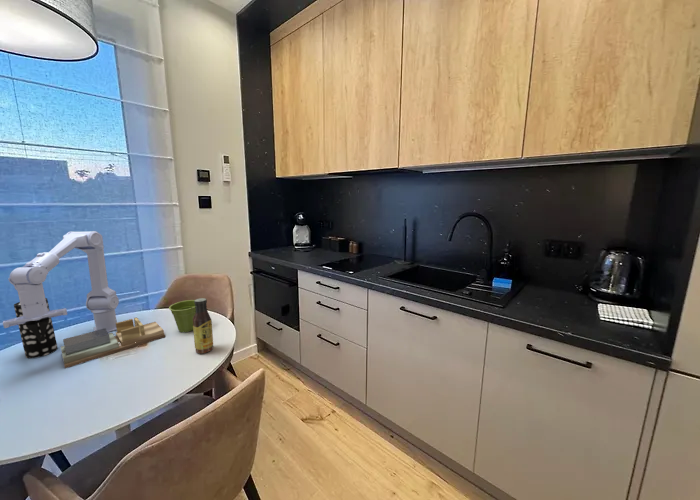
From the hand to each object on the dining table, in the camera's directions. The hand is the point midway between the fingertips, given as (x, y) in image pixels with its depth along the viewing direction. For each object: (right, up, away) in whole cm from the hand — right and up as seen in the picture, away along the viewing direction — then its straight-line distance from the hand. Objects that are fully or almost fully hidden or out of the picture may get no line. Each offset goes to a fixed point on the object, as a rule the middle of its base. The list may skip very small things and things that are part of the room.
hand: (41, 340), depth 99 cm
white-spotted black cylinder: (-11, -8, +10) cm, 17 cm away
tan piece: (+13, -7, +15) cm, 21 cm away
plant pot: (+34, -4, +29) cm, 44 cm away
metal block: (+8, -4, +9) cm, 12 cm away
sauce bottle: (+50, -7, +11) cm, 52 cm away
